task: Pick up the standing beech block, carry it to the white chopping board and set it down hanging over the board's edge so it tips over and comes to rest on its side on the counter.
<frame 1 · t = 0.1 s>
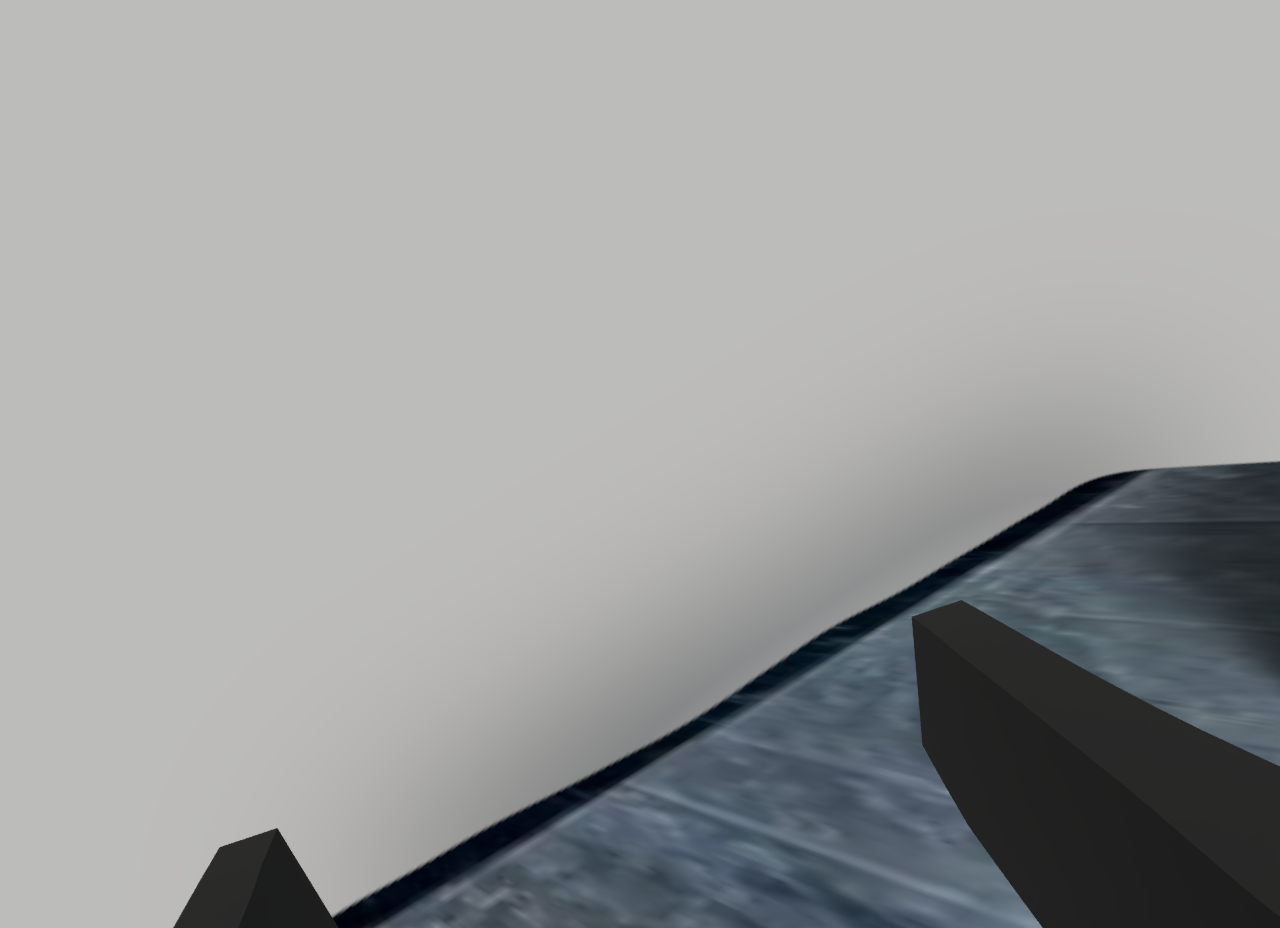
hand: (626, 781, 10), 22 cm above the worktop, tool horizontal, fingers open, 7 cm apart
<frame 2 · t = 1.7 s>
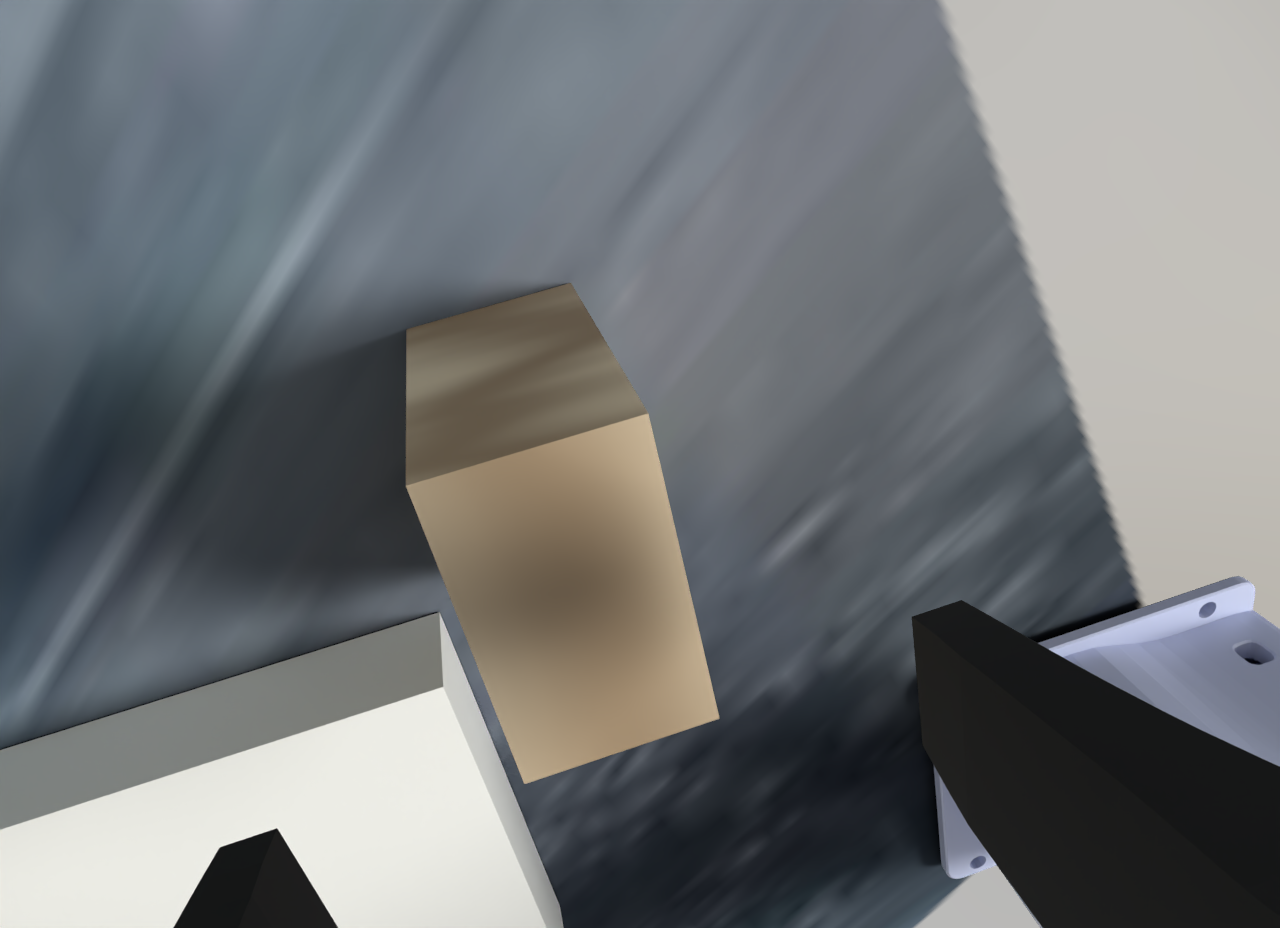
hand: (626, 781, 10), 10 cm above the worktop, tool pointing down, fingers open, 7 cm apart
block: (528, 431, 18), on the worktop
board: (305, 843, 22), on the worktop
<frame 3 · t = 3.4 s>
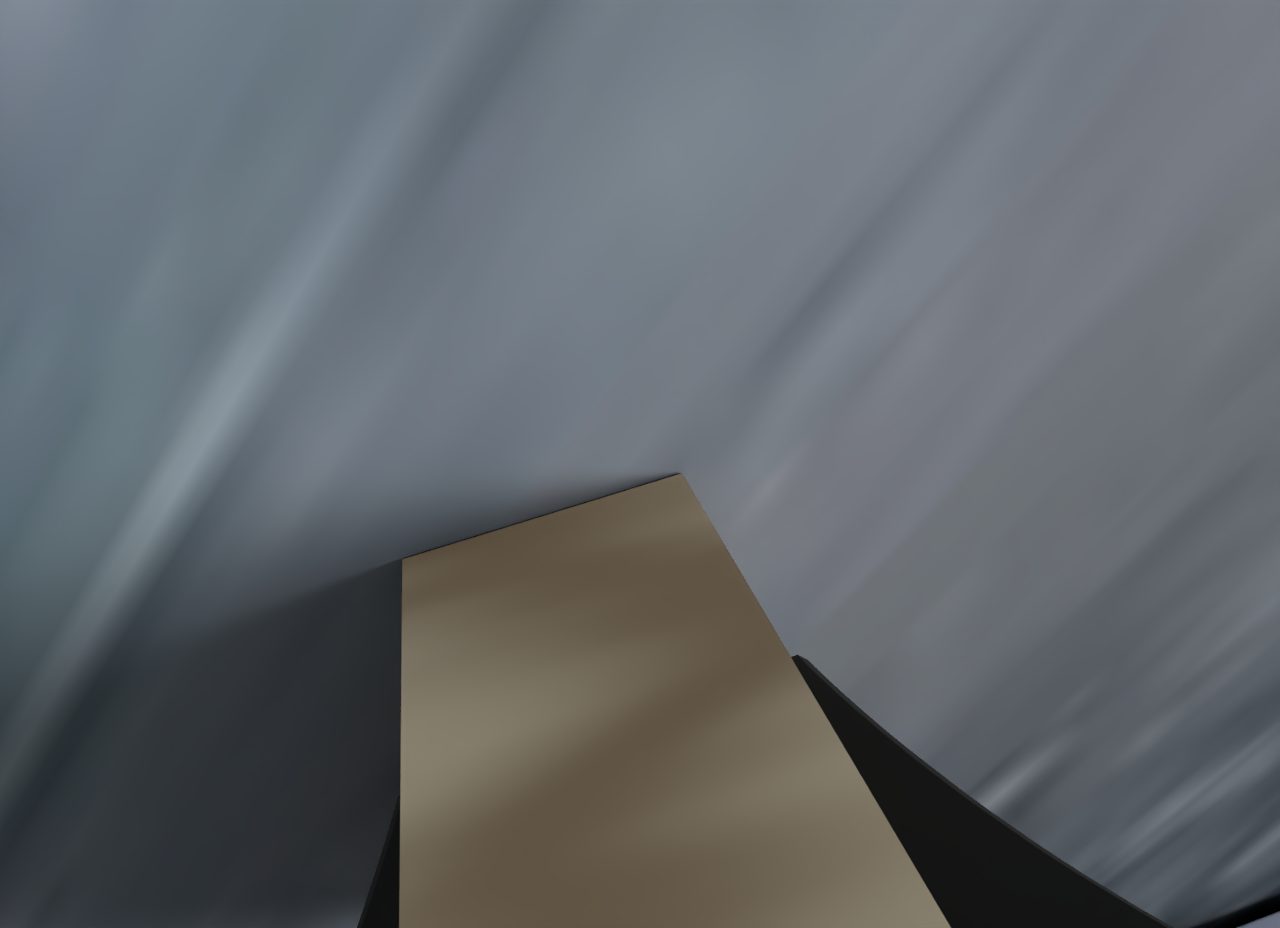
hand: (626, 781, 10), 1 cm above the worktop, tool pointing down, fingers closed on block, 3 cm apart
block: (601, 697, 11), on the worktop, touching gripper
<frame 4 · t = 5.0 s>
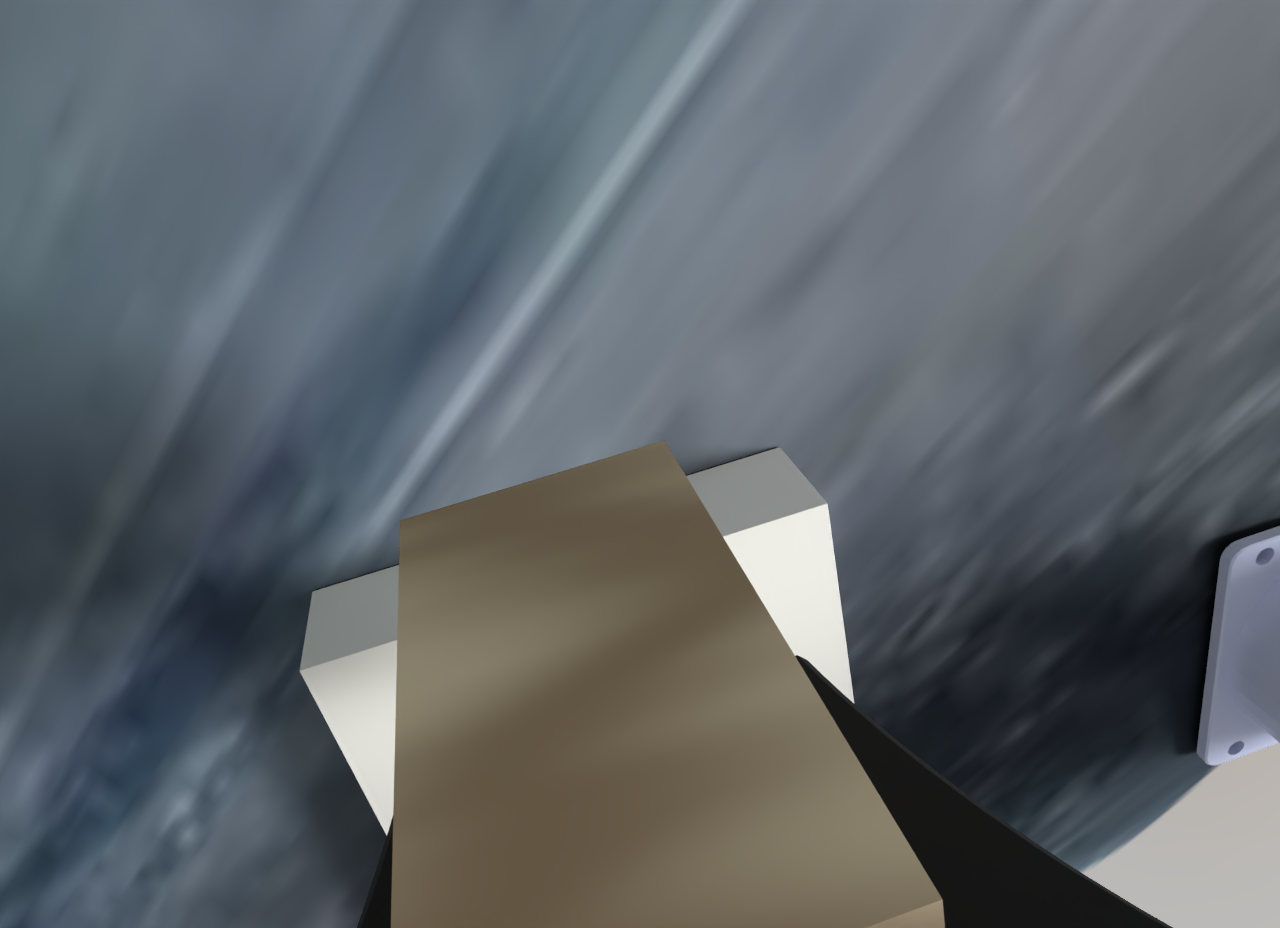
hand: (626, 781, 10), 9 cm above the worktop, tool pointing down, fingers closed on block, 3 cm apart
block: (590, 658, 12), point 7 cm above the worktop, touching gripper
board: (609, 700, 21), on the worktop
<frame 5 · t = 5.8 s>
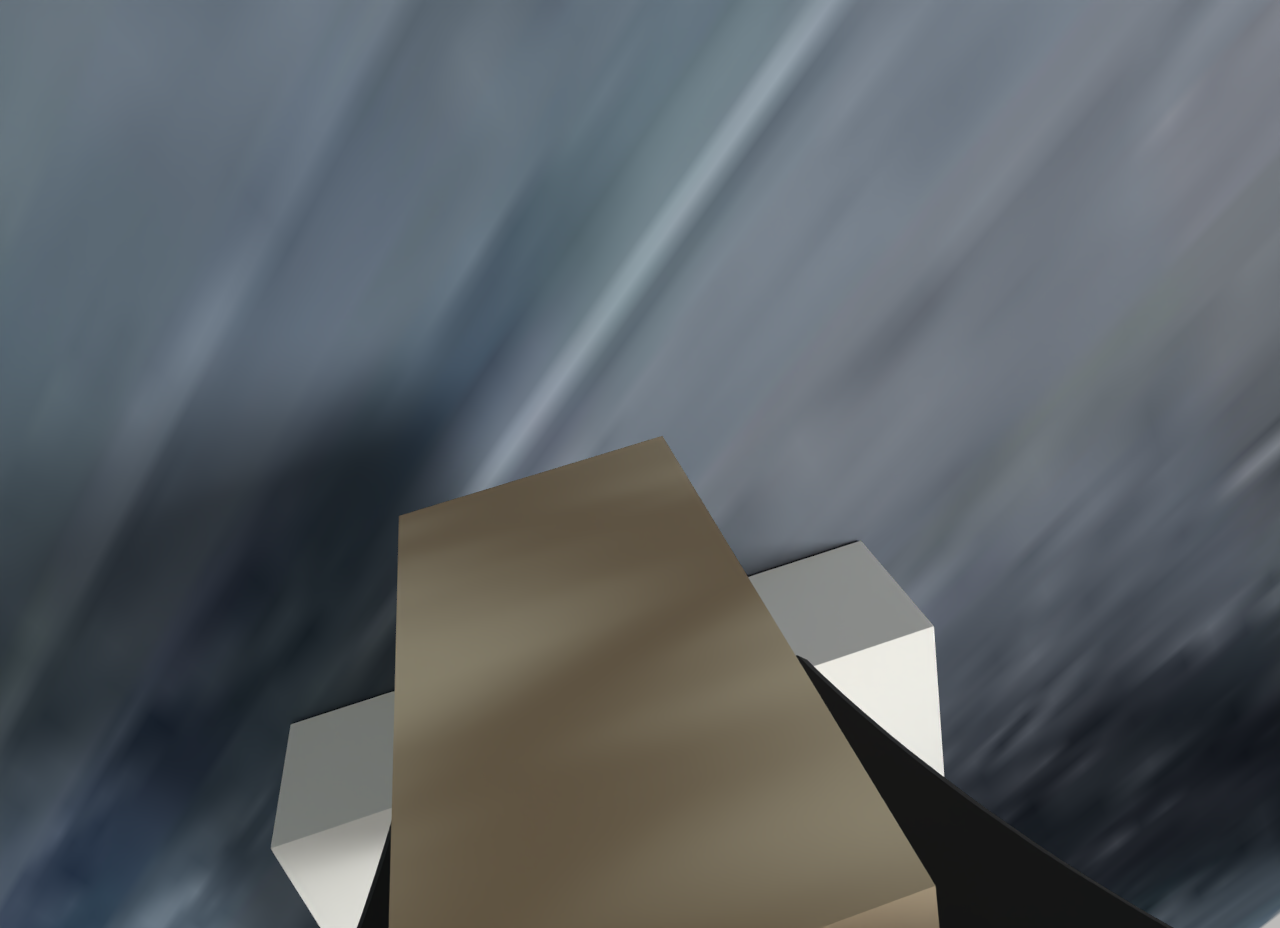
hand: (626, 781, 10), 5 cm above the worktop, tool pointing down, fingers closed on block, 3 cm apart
block: (588, 653, 12), point 3 cm above the worktop, touching gripper
board: (648, 832, 18), on the worktop
when the fingers open (5 cm above the worktop, at t = 6.4 s): block moves 2 cm and tips over, point 3 cm above the worktop.
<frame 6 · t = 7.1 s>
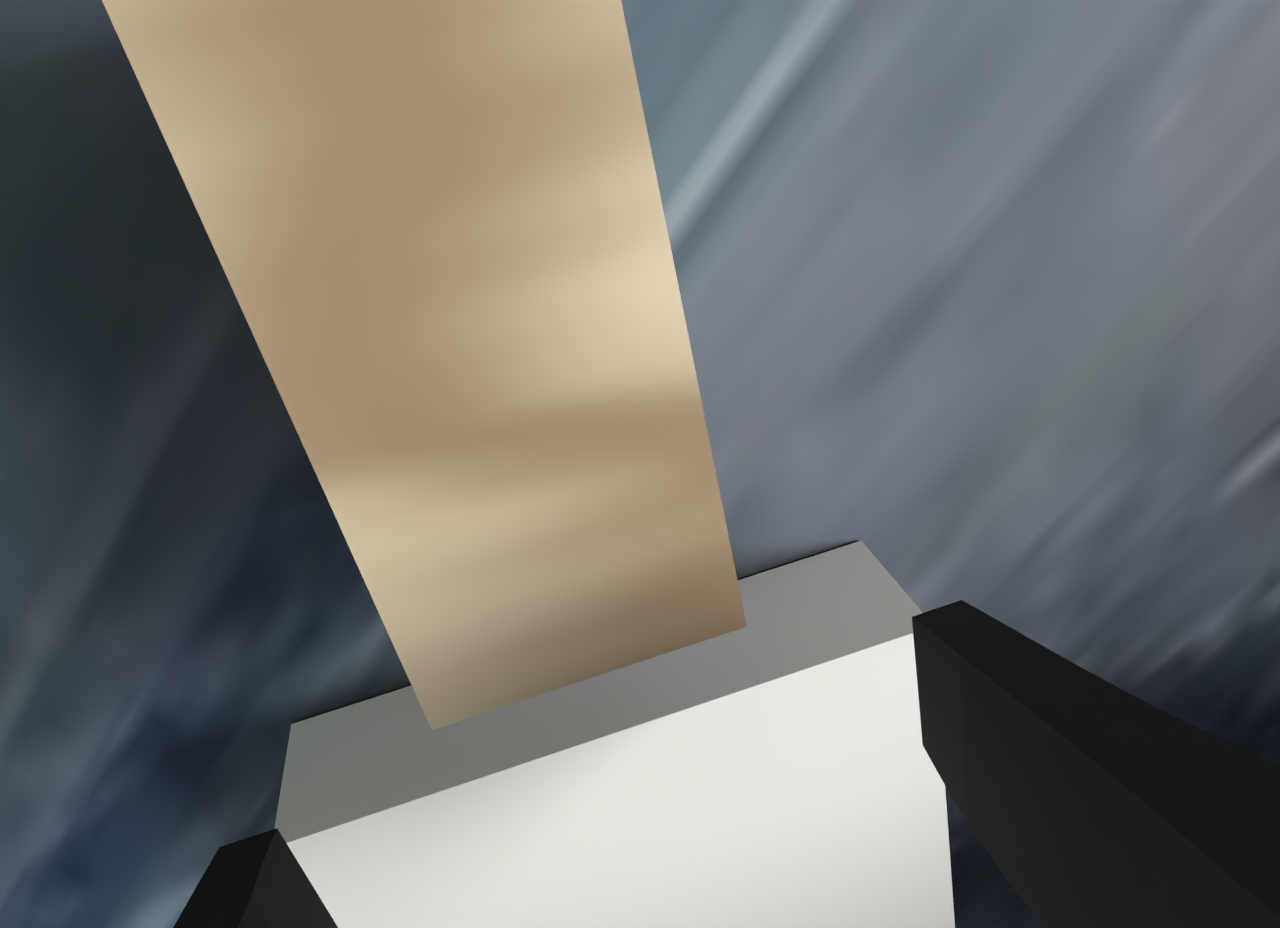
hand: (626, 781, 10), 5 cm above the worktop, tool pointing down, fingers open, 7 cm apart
block: (552, 534, 11), point 3 cm above the worktop, tilted 90°
board: (648, 831, 18), on the worktop
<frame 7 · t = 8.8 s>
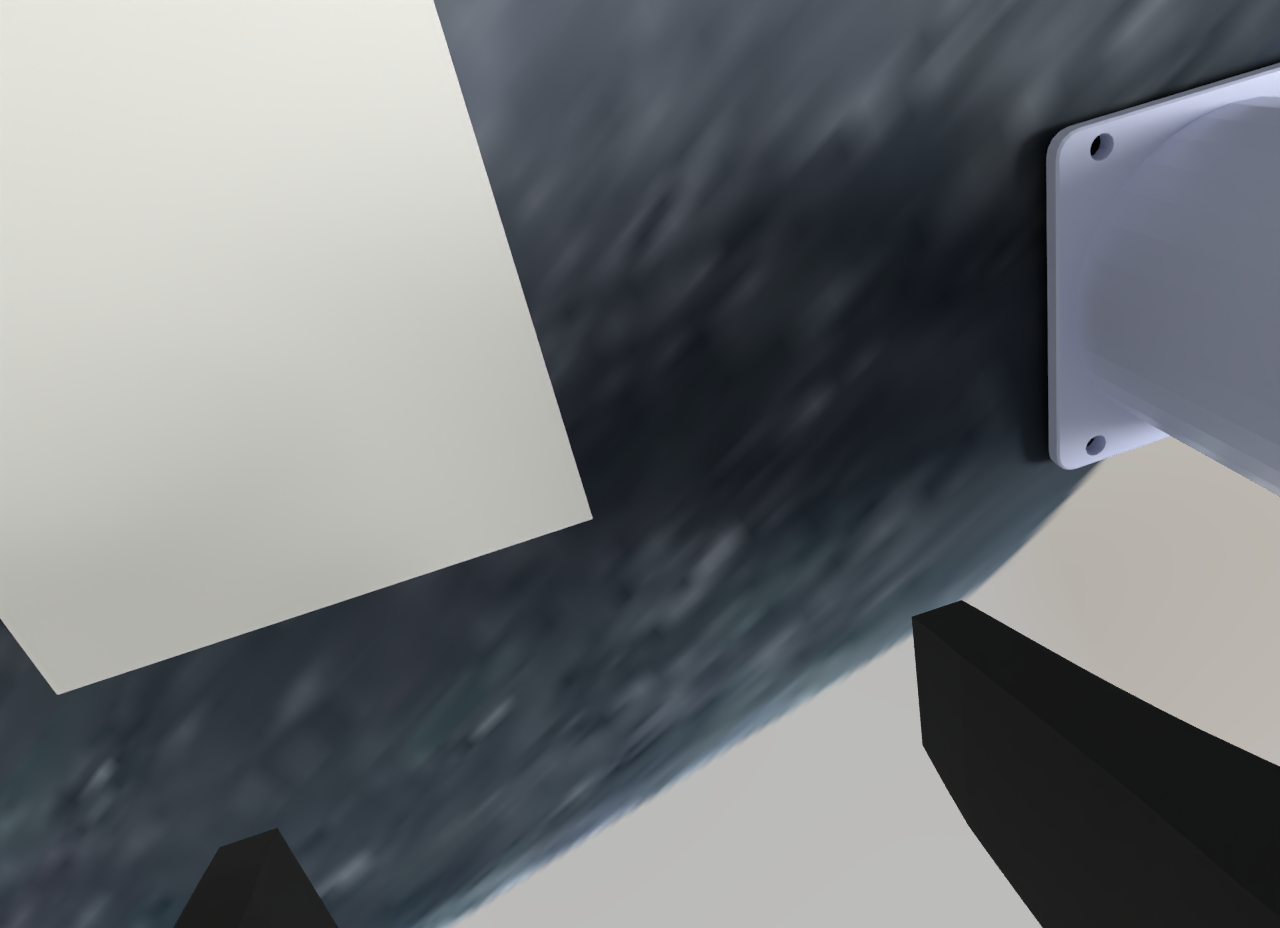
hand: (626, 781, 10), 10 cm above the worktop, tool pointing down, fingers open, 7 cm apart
board: (228, 301, 16), on the worktop
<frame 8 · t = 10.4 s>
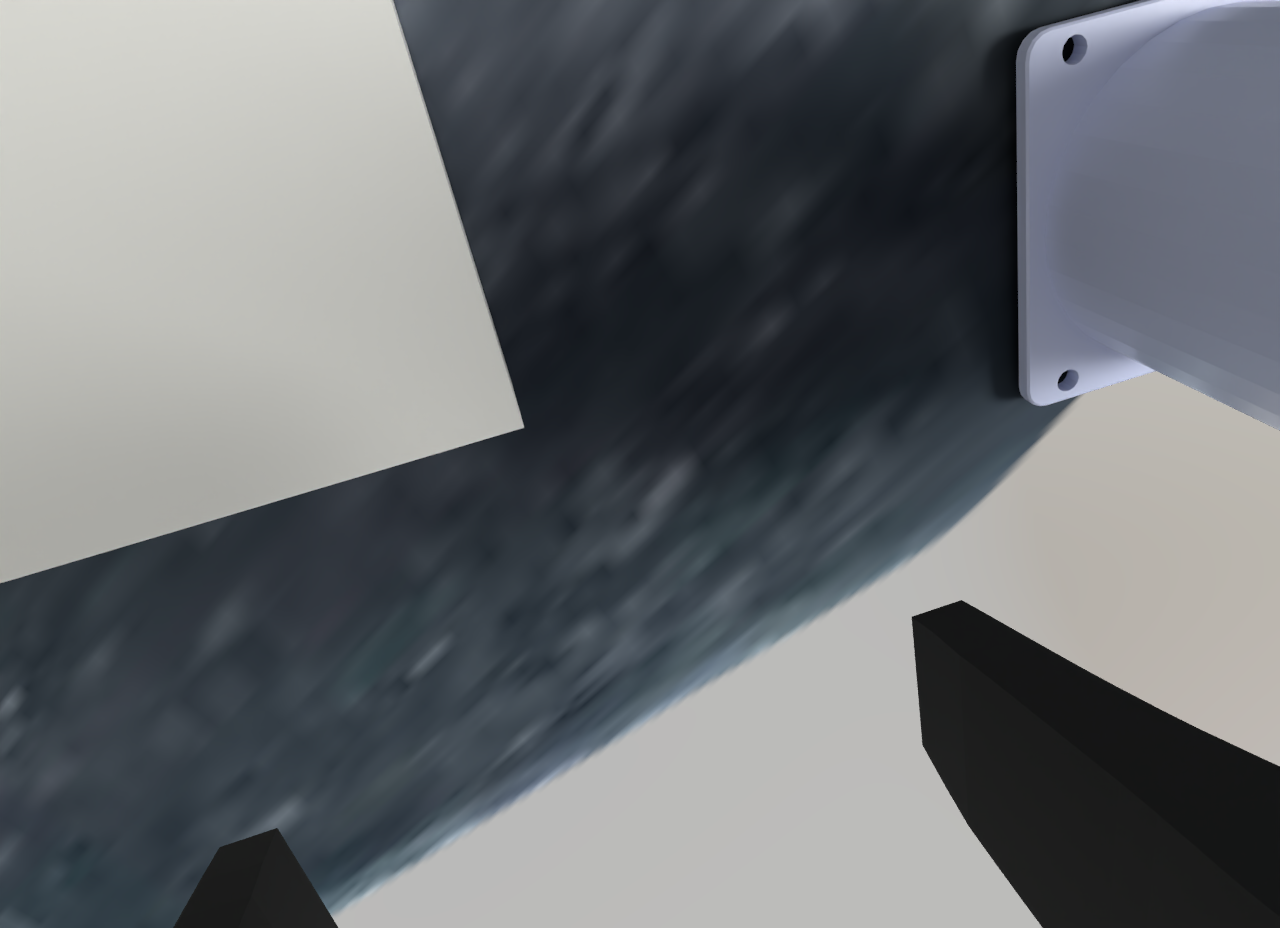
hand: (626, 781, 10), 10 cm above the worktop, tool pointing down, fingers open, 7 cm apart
board: (134, 182, 15), on the worktop
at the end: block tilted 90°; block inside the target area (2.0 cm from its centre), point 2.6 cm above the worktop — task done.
